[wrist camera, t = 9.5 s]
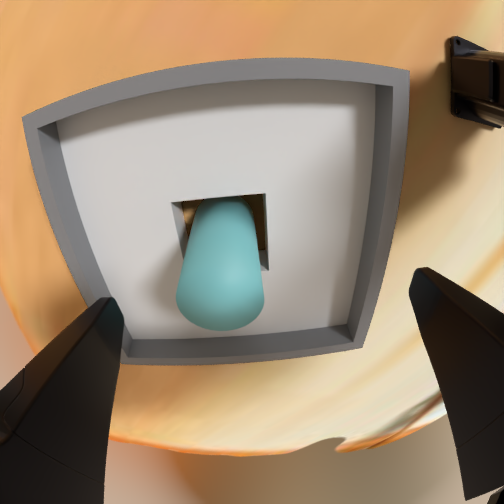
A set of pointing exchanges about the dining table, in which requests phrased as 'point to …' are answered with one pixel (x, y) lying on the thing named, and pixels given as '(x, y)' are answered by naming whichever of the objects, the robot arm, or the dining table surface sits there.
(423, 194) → the dining table surface
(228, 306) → the peg
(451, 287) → the robot arm
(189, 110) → the box
